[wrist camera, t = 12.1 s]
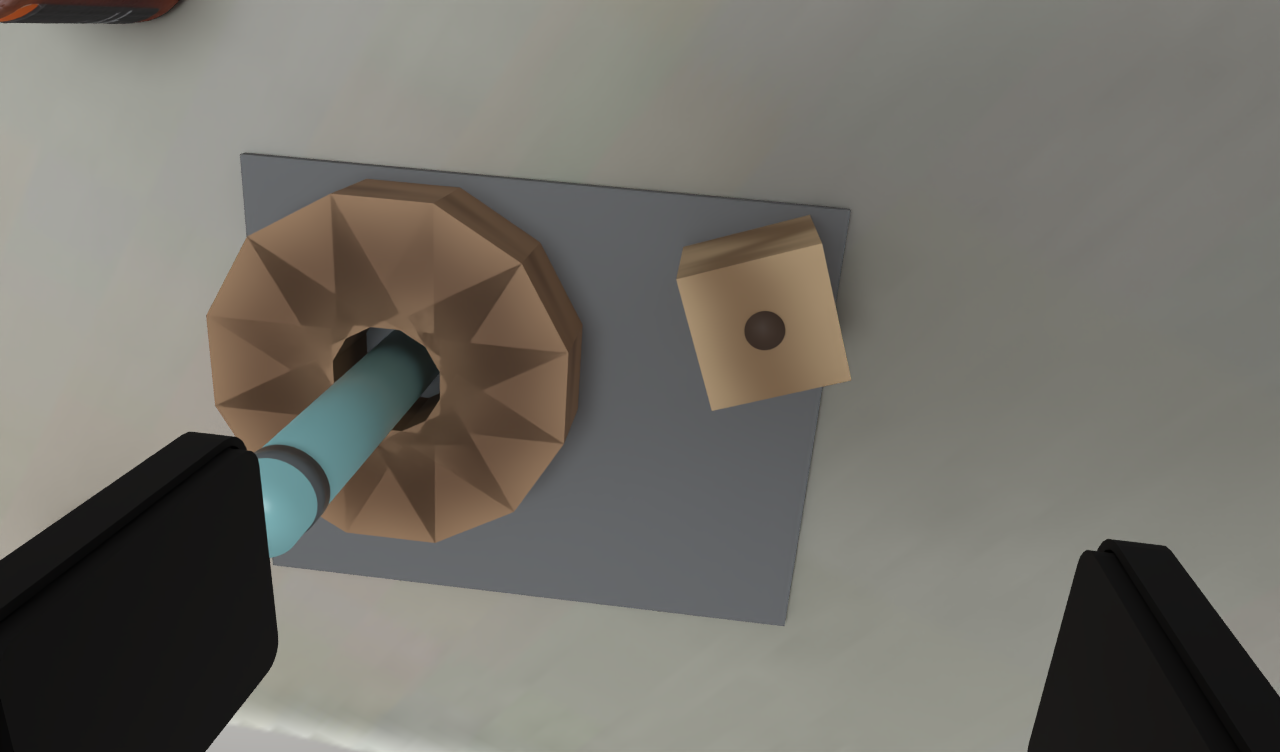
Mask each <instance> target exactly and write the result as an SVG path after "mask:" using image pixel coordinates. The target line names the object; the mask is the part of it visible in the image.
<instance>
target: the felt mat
mask: <svg viewBox="0 0 1280 752" xmlns="http://www.w3.org/2000/svg"><path fill="white" fill-rule="evenodd" d="M240 160H241V173H242V185H243V197H244V210H245V222H246V235H247V236H249V235H251V234H253V233H255V232H257V231H259V230H261V229H263V228H265V227H267V226H269V225H271V224H273V223H274V222H276V221H278V220H280V219H282V218H284V217H286V216H288V215H290V214H292V213H294V212H296V211H298V210H300V209H302V208H304V207H306V206H308V205H309V204H311V203H313V202H315V201H317V200H319V199H321V198H323V197H325V196H327V195H329V194H331V193H333V192H336V191H338V190H341V189H343V188H345V187H348V186H350V185H353V184H355V183H358V182H360V181H362V180H365V179H375V180H386V181H396V182H407V183H418V184H428V185H439V186H450V187H460V188H462V189H463V190H465V191H466V192H467V193H469V194H470V195H472V196H473V197H475V198H476V199H478V200H479V201H481V202H482V203H483V204H485V205H486V206H488V207H489V208H491V209H492V210H494V211H495V212H497V213H498V214H500V215H501V216H502V217H504V218H505V219H507V220H508V221H510V222H511V223H513V224H514V225H516V226H517V227H518V228H520V229H521V230H523V231H524V232H526V233H527V234H529V235H530V236H532V237H533V238H535V239H536V240H537V241H539V242H540V243H541V245H542V247H543V249H544V251H545V253H546V255H547V257H548V259H549V261H550V262H551V264H552V266H553V268H554V270H555V272H556V274H557V276H558V278H559V280H560V282H561V284H562V286H563V288H564V290H565V292H566V294H567V296H568V297H569V299H570V301H571V303H572V305H573V307H574V309H575V311H576V313H577V315H578V317H579V319H580V321H581V323H582V325H583V326H582V344H581V362H580V380H579V398H578V410H577V412H576V415H575V417H574V420H573V422H572V425H571V427H570V430H569V432H568V435H567V437H566V440H565V442H564V444H563V446H562V447H561V448H560V450H559V451H558V453H557V454H556V455H555V457H554V458H553V459H552V461H551V462H550V463H549V465H548V466H547V468H546V469H545V470H544V472H543V473H542V474H541V476H540V477H539V478H538V480H537V481H536V483H535V484H534V485H533V487H532V488H531V489H530V491H529V492H528V493H527V495H526V496H525V498H524V499H523V500H522V502H521V503H520V504H519V506H518V507H517V508H516V510H515V511H514V512H512V513H510V514H507V515H505V516H502V517H500V518H497V519H495V520H492V521H490V522H487V523H484V524H482V525H479V526H477V527H474V528H472V529H469V530H467V531H464V532H462V533H459V534H456V535H454V536H451V537H449V538H446V539H444V540H441V541H439V542H436V543H431V542H423V541H414V540H406V539H397V538H389V537H380V536H372V535H363V534H354V533H346V532H345V531H343V530H341V529H340V528H338V527H336V526H335V525H333V524H332V523H330V522H328V521H327V520H325V519H323V518H322V517H320V518H319V519H318V520H317V521H316V523H315V524H314V525H313V526H312V527H311V528H310V529H309V530H308V531H307V532H306V533H304V534H303V535H302V536H301V538H300V539H299V540H298V541H297V542H296V544H295V545H294V546H293V547H292V548H291V549H290V550H289V551H287V552H286V553H284V554H282V555H279V556H276V557H273V565H277V566H286V567H294V568H302V569H311V570H319V571H327V572H336V573H344V574H353V575H361V576H369V577H378V578H386V579H394V580H403V581H411V582H419V583H428V584H436V585H444V586H453V587H461V588H469V589H478V590H486V591H495V592H503V593H511V594H520V595H528V596H536V597H545V598H553V599H561V600H570V601H578V602H586V603H595V604H603V605H612V606H620V607H628V608H637V609H645V610H653V611H662V612H670V613H678V614H687V615H695V616H703V617H712V618H720V619H728V620H737V621H745V622H754V623H762V624H770V625H779V626H784V625H785V619H786V613H787V606H788V600H789V594H790V588H791V581H792V575H793V569H794V563H795V556H796V550H797V544H798V538H799V531H800V525H801V519H802V513H803V506H804V500H805V494H806V487H807V481H808V475H809V469H810V462H811V456H812V450H813V444H814V437H815V431H816V425H817V419H818V412H819V406H820V400H821V394H822V387H819V388H814V389H810V390H805V391H801V392H796V393H791V394H787V395H782V396H778V397H773V398H769V399H764V400H760V401H755V402H750V403H746V404H741V405H737V406H732V407H728V408H723V409H719V410H714V411H712V410H711V406H710V402H709V398H708V395H707V391H706V387H705V384H704V380H703V376H702V373H701V369H700V365H699V362H698V358H697V354H696V351H695V347H694V343H693V339H692V336H691V332H690V328H689V325H688V321H687V317H686V314H685V310H684V306H683V303H682V299H681V295H680V292H679V288H678V284H677V280H676V278H677V274H678V269H679V264H680V260H681V255H682V251H683V247H685V246H689V245H693V244H697V243H701V242H705V241H709V240H712V239H716V238H720V237H724V236H728V235H732V234H736V233H740V232H744V231H748V230H752V229H756V228H760V227H764V226H768V225H772V224H775V223H779V222H783V221H787V220H791V219H795V218H799V217H803V216H807V215H810V216H811V219H812V221H813V223H814V226H815V228H816V230H817V233H818V235H819V237H820V240H821V242H822V246H823V250H824V255H825V259H826V264H827V269H828V273H829V278H830V283H831V287H832V292H833V297H834V301H835V306H836V300H837V293H838V287H839V281H840V275H841V268H842V262H843V256H844V250H845V243H846V237H847V231H848V225H849V218H850V212H851V210H850V209H846V208H835V207H824V206H814V205H803V204H792V203H781V202H770V201H759V200H749V199H738V198H727V197H716V196H705V195H695V194H684V193H673V192H662V191H651V190H640V189H630V188H619V187H608V186H597V185H586V184H576V183H565V182H554V181H543V180H532V179H522V178H511V177H500V176H489V175H478V174H467V173H457V172H446V171H435V170H424V169H413V168H403V167H392V166H381V165H370V164H359V163H349V162H338V161H327V160H316V159H305V158H294V157H284V156H273V155H262V154H251V153H243V154H240ZM393 330H394V329H385V328H375V327H370V328H369V329H368V331H367V333H366V334H367V353H368V352H370V351H371V350H372V349H373V348H374V347H375V346H376V345H377V344H379V343H380V342H381V341H382V340H383V339H384V338H385V337H386V336H388V335H389V334H390V333H391V332H392V331H393ZM439 393H440V373H439V374H438V376H437V377H436V378H435V379H434V380H433V382H432V383H431V384H430V385H429V386H428V387H427V389H426V390H425V391H424V392H423V393H422V395H421V396H420V397H425V398H430V397H432V396H434V395H437V394H439Z"/></svg>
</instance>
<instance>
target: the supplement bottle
mask: <svg viewBox="0 0 1280 752" xmlns="http://www.w3.org/2000/svg"><path fill="white" fill-rule="evenodd" d="M178 1H179V0H0V22H1V23H76V24H77V23H83V24H84V23H107V24H119V23H120V24H125V23H135V22H144V21H149V20H152V19H155V18H157V17H159V16H161V15H163V14H164V13H166V12H168V11H169V10H170V9H171V8H172V7H173V6H174V5H175V4H176V3H177V2H178Z"/></svg>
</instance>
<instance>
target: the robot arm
mask: <svg viewBox="0 0 1280 752" xmlns="http://www.w3.org/2000/svg"><path fill="white" fill-rule="evenodd" d="M277 648H278V631H277V622H276V613H275V604H274V595H273V585H272V576H271V567H270V558H269V549H268V539H267V530H266V521H265V512H264V503H263V494H262V484H261V475H260V466H259V461H258V458H257V456H256V454H255V453H254V452H252V451H248V450H247V448H246V446H245V444H244V442H243V441H242V440H241V439H239V438H238V437H232V436H224V435H215V434H206V433H198V432H187V433H185V434H183V435H181V436H180V437H178V438H177V439H175V440H174V441H173V442H171V443H170V444H168V445H167V446H165V447H164V448H162V449H161V450H159V451H158V452H157V453H155V454H154V455H152V456H151V457H149V458H148V459H146V460H145V461H144V462H142V463H141V464H139V465H138V466H136V467H135V468H133V469H132V470H131V471H129V472H128V473H126V474H125V475H123V476H122V477H120V478H119V479H117V480H116V481H115V482H113V483H112V484H110V485H109V486H107V487H106V488H104V489H103V490H102V491H100V492H99V493H97V494H96V495H94V496H93V497H91V498H90V499H88V500H87V501H86V502H84V503H83V504H81V505H80V506H78V507H77V508H75V509H74V510H73V511H71V512H70V513H68V514H67V515H65V516H64V517H62V518H61V519H60V520H58V521H57V522H55V523H54V524H52V525H51V526H49V527H48V528H46V529H45V530H44V531H42V532H41V533H39V534H38V535H36V536H35V537H33V538H32V539H31V540H29V541H28V542H26V543H25V544H23V545H22V546H20V547H19V548H17V549H16V550H15V551H13V552H12V553H10V554H9V555H7V556H6V557H4V558H3V559H2V560H0V752H205V751H206V750H207V749H208V748H209V746H210V745H211V744H212V743H213V741H214V740H215V739H216V738H217V736H218V735H219V734H220V732H221V731H222V730H223V729H224V727H225V726H226V725H227V724H228V722H229V721H230V720H231V718H232V717H233V716H234V715H235V713H236V712H237V711H238V710H239V708H240V707H241V706H242V704H243V703H244V702H245V701H246V699H247V698H248V697H249V696H250V694H251V693H252V692H253V690H254V689H255V688H256V687H257V685H258V684H259V683H260V682H261V680H262V679H263V678H264V677H265V675H266V674H267V673H268V671H269V670H270V668H271V667H272V664H273V662H274V660H275V657H276V653H277ZM1028 752H1280V697H1279V695H1278V694H1277V693H1276V691H1275V690H1274V689H1273V687H1272V686H1271V685H1270V683H1269V682H1268V680H1267V679H1266V678H1265V676H1264V675H1263V674H1262V672H1261V671H1260V670H1259V668H1258V667H1257V666H1256V664H1255V663H1254V662H1253V660H1252V659H1251V658H1250V656H1249V655H1248V654H1247V652H1246V651H1245V650H1244V648H1243V647H1242V646H1241V644H1240V643H1239V641H1238V640H1237V639H1236V637H1235V636H1234V635H1233V633H1232V632H1231V631H1230V629H1229V628H1228V627H1227V625H1226V624H1225V623H1224V621H1223V620H1222V619H1221V617H1220V616H1219V615H1218V613H1217V612H1216V611H1215V609H1214V608H1213V607H1212V605H1211V604H1210V602H1209V601H1208V600H1207V598H1206V597H1205V596H1204V594H1203V593H1202V592H1201V590H1200V589H1199V588H1198V586H1197V585H1196V584H1195V582H1194V581H1193V580H1192V578H1191V577H1190V576H1189V574H1188V573H1187V572H1186V570H1185V569H1184V568H1183V566H1182V565H1181V563H1180V562H1179V561H1178V559H1177V558H1176V557H1175V555H1174V554H1173V553H1172V551H1171V550H1170V549H1168V548H1167V547H1166V546H1162V545H1154V544H1146V543H1137V542H1129V541H1120V540H1112V539H1107V540H1105V541H1103V542H1102V544H1101V545H1100V546H1099V548H1098V550H1097V551H1091V550H1086V551H1085V552H1083V553H1082V555H1081V556H1080V559H1079V562H1078V564H1077V568H1076V572H1075V575H1074V579H1073V583H1072V587H1071V590H1070V594H1069V598H1068V601H1067V605H1066V609H1065V612H1064V616H1063V620H1062V623H1061V627H1060V631H1059V634H1058V638H1057V642H1056V646H1055V649H1054V653H1053V657H1052V660H1051V664H1050V668H1049V671H1048V675H1047V679H1046V682H1045V686H1044V690H1043V694H1042V697H1041V701H1040V705H1039V708H1038V712H1037V716H1036V719H1035V723H1034V727H1033V730H1032V734H1031V738H1030V741H1029V746H1028Z"/></svg>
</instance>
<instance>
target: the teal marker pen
mask: <svg viewBox="0 0 1280 752" xmlns="http://www.w3.org/2000/svg"><path fill="white" fill-rule="evenodd" d="M439 373H440V372H439V370H438V368H437V367H436V365H435V363H434V361H433V360H432V358H431V356H430V354H429V353H428V351H427V349H426V347H425V346H423V345H422V344H420V343H419V342H417V341H416V340H414V339H413V338H411V337H410V336H408V335H406V334H405V333H403V332H402V331H400V330H395V329H394V330H393V331H392V332H391V333H390V334H389V335H388V336H386V337H385V338H384V339H383V340H382V341H381V342H380V343H379V344H377V345H376V346H375V347H374V348H373V349H372V350H371V351H370V352H368V353H367V354H366V355H365V356H364V357H363V358H362V359H361V360H360V361H358V362H357V363H356V364H355V365H354V366H353V367H352V368H351V369H349V370H348V371H347V372H346V373H345V374H344V375H343V376H342V377H340V378H339V379H338V380H337V381H336V382H335V383H334V384H333V385H332V386H330V387H329V388H328V389H327V390H326V391H325V392H324V393H323V394H321V395H320V396H319V397H318V398H317V399H316V400H315V401H314V402H312V403H311V404H310V405H309V406H308V407H307V408H306V409H305V410H304V411H302V412H301V413H300V414H299V415H298V416H297V417H296V418H295V419H293V420H292V421H291V422H290V423H289V424H288V425H287V426H286V427H284V428H283V429H282V430H281V431H280V432H279V433H278V434H277V435H276V436H274V437H273V438H272V439H271V440H270V441H269V442H268V443H267V444H265V445H264V446H263V447H262V448H260V449H259V450H257V451H255V452H254V453H255V454H256V456H257V458H258V461H259V466H260V475H261V484H262V494H263V503H264V512H265V521H266V530H267V539H268V549H269V558H271V557H276V556H279V555H282V554H284V553H286V552H287V551H289V550H290V549H291V548H292V547H293V546H294V545H295V544H296V542H297V541H298V540H299V539H300V538H301V536H302V535H303V534H304V533H306V532H307V531H308V530H309V529H310V528H311V527H312V526H313V525H314V524H315V523H316V521H317V520H318V519H319V518H320V517H321V515H322V514H323V513H324V512H325V510H326V508H327V507H328V505H329V503H330V502H331V501H332V500H333V499H334V497H335V496H336V495H337V494H338V493H339V492H340V490H341V489H342V488H343V487H344V486H345V484H346V483H347V482H348V481H349V480H350V479H351V477H352V476H353V475H354V474H355V473H356V471H357V470H358V469H359V468H360V467H361V466H362V464H363V463H364V462H365V461H366V460H367V458H368V457H369V456H370V455H371V454H372V452H373V451H374V450H375V449H376V448H377V447H378V445H379V444H380V443H381V442H382V441H383V439H384V438H385V437H386V436H387V435H388V434H389V432H390V431H391V430H392V429H393V428H394V426H395V425H396V424H397V423H398V422H399V421H400V419H401V418H402V417H403V416H404V415H405V413H406V412H407V411H408V410H409V409H410V408H411V406H412V405H413V404H414V403H415V402H416V400H417V399H418V398H419V397H420V396H421V395H422V393H423V392H424V391H425V390H426V389H427V387H428V386H429V385H430V384H431V383H432V382H433V380H434V379H435V378H436V377H437V376H438V374H439Z"/></svg>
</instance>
